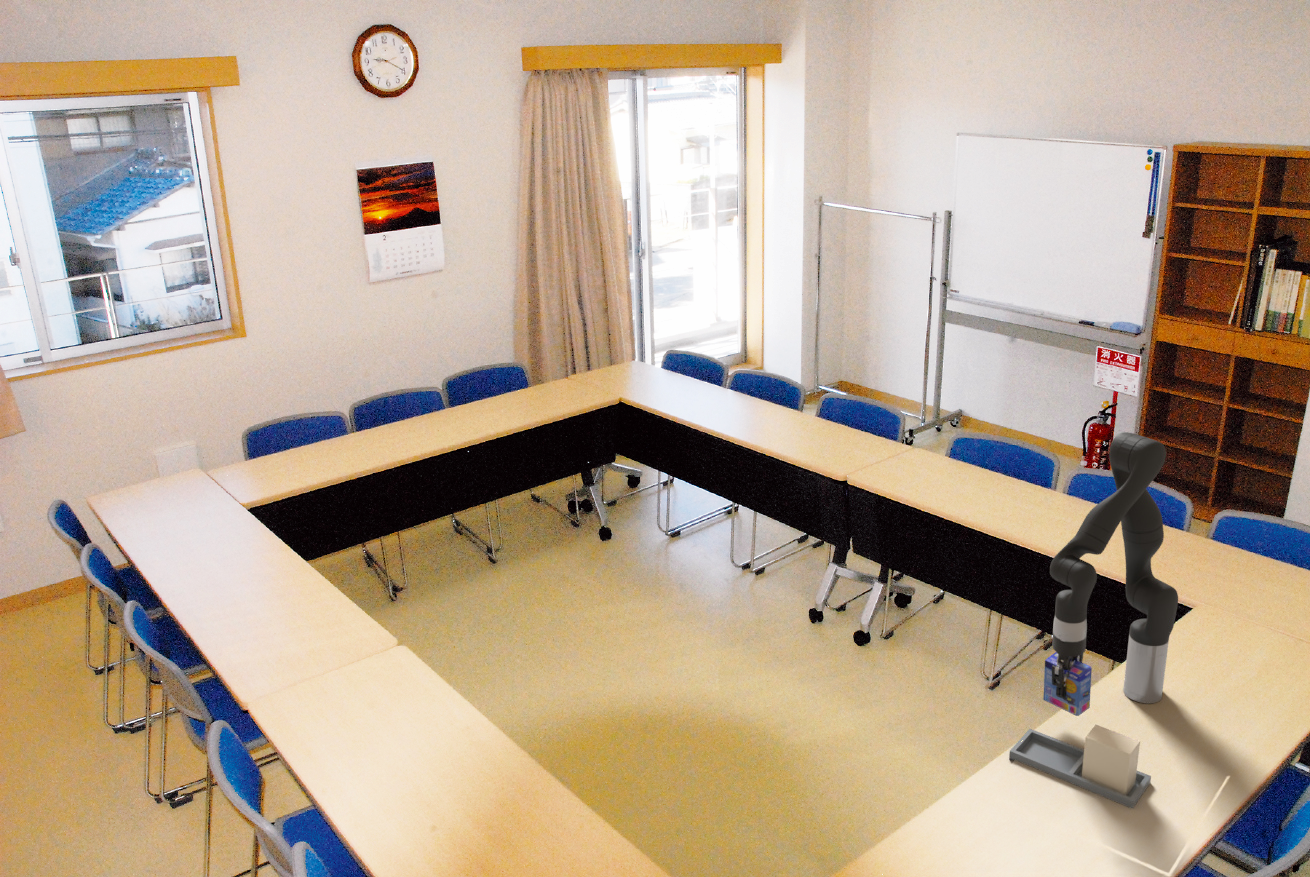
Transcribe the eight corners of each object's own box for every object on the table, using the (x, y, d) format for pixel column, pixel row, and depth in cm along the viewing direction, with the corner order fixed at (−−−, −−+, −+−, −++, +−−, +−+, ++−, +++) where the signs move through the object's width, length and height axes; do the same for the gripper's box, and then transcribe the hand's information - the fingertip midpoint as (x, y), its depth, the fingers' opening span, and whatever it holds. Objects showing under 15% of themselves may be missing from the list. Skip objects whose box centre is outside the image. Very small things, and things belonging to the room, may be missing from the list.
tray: (1029, 736, 260) (1029, 728, 259) (1150, 784, 241) (1151, 775, 240) (1009, 759, 253) (1009, 750, 252) (1132, 810, 234) (1133, 801, 233)
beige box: (1091, 766, 248) (1095, 724, 243) (1135, 783, 241) (1140, 740, 237) (1081, 779, 244) (1085, 737, 239) (1125, 797, 237) (1130, 754, 233)
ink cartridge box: (1041, 700, 262) (1043, 651, 256) (1054, 691, 265) (1056, 642, 259) (1077, 717, 254) (1081, 667, 249) (1090, 707, 257) (1093, 657, 252)
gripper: (1066, 614, 259) (1063, 671, 265) (1041, 640, 250) (1038, 699, 256) (1097, 623, 254) (1093, 681, 260) (1072, 650, 245) (1069, 710, 251)
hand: (1066, 690), depth 258 cm, fingers closed on ink cartridge box, 5 cm apart
